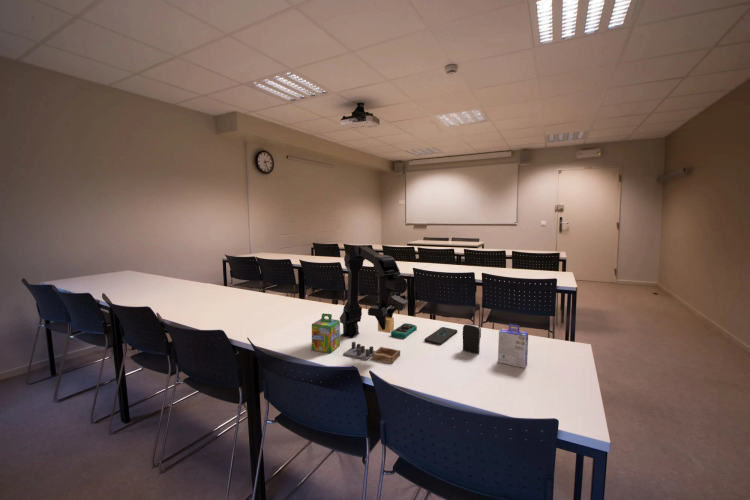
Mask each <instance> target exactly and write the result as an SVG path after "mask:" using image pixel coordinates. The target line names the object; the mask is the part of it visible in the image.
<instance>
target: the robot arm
mask: <svg viewBox="0 0 750 500" xmlns="http://www.w3.org/2000/svg"><path fill="white" fill-rule="evenodd" d="M395 259H396V258H394V257H393V256H391V255H387V254H386V255H385V254H380V253H379V252H377V251H375V250H374V249H372V248H370V247H369V246H368V245H365V244H364V245H357V246H355V247H354V248H353V249H351V250H349V251H348V252H346V254H345V255H344V257H343V261H344V262H343V263H344V267H345V269H346V270H347V301H346V303H345V305H344V306H343V309H342V313H341V315H340V316H339V321H340V324H342V330H343V331H342V333H340V337H341V336H342V337H347V338H350V339H351V338H354V337H356V336H358V335H359V334H360V331H359V325H358V324H359V323H361V320H362V315H363V312H362V311H363V308H362V306H361V305H360V303H359V283H360V282H359V280H360V279H359V278H360V277H359V276H360V271H361V270H362V268H363V266H364V261H365V260H367V262H370V263H371V264H372V265H373V268H374V270H375V271H377V273H375V277H377V291H376V292H375V294H376V295H377V297H378V300H377V301H376V305H373V306H371V307H369V308H368V309H367V316H372V317H375V318H376V321H377V323H378V322H379V324H380V326H381V328H382V330H385V325H386V317H393V315H394V313H395V312H396V311H401V312H402V311H403V310H405V309H406V306H407V304H409V300H408V296H407V294H404V293H405V292H406V291H407V290H408V283H407V280H406V279H405V278H404V275H403V274H401V272H400V268H399V266H398V264H397V262H396V260H395ZM397 294H400V295H401V296H400V295H397Z"/></svg>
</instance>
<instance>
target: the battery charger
mask: <svg viewBox="0 0 750 500" xmlns="http://www.w3.org/2000/svg"><path fill="white" fill-rule="evenodd" d="M481 338H482V328H481V326H480V325H479V324H474V323H469V322H468V323H465V324H464V325H463V326H462V352H463V351H464V352H466V353H471V354H477V355H479V354H480V350H481V349H480V348H481V347H480V344H481Z"/></svg>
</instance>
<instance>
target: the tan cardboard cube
mask: <svg viewBox="0 0 750 500" xmlns="http://www.w3.org/2000/svg"><path fill="white" fill-rule="evenodd" d="M393 330H395V317H393V316H392V317H386V325H385V330H382V328H381V326H380V324H379V322H378V321H377V332H382V333H387V334H391V332H392V331H393Z"/></svg>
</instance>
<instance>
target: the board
mask: <svg viewBox="0 0 750 500" xmlns="http://www.w3.org/2000/svg"><path fill="white" fill-rule="evenodd" d="M375 351H376V350H374V346H371V345H370V346H369V348H365V345H361V343H357V344H356V341H352V342H351V348H349V349H347V350H346V351H345V352H343V354H342V356H345V357H350V358H352V359H353V358H354V359H359V360H364V361H366V362H367V361H368V360H370V359H371V358H372V354H373V353H374V352H375Z"/></svg>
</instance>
